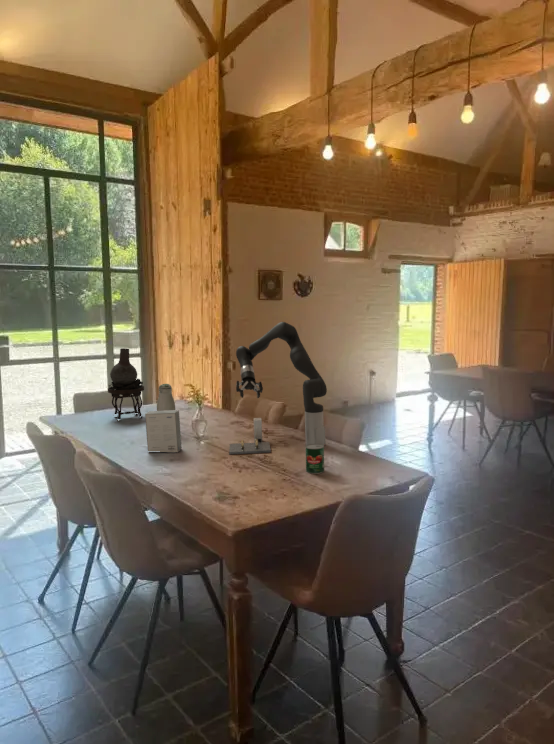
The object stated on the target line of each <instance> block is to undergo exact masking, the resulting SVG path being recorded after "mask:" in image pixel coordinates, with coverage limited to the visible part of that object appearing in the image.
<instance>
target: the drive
mask: <svg viewBox="0 0 554 744" xmlns="http://www.w3.org/2000/svg"><path fill="white" fill-rule="evenodd" d="M262 420H263V419H262V417H253V436H254V437H253V438H254V442H255V440H256V439H258V442H263V423H262Z"/></svg>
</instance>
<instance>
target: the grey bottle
mask: <svg viewBox="0 0 554 744" xmlns="http://www.w3.org/2000/svg"><path fill="white" fill-rule="evenodd" d="M175 403H176V402H175V400H174V397H173V388H172V385H171V384H170V383H161V384H160V385H159V386H158V397H157V402H156V411H171V410H176V404H175Z"/></svg>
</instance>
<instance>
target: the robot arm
mask: <svg viewBox="0 0 554 744" xmlns="http://www.w3.org/2000/svg"><path fill="white" fill-rule="evenodd" d="M277 339H280V340H282V341H285V342H286V344H287V345H288V347H289V348H290V353H289V358H290V361H291V363H292V365H293V367H294V368H295V369H296V371H299V372H300V373H301V374H302V375H304V376H306V377H307V378H308V379H306V380H304V381H303V384H302V397H303V406H304V425H305V427H304V431H305V446H306V445H309V444H322V445H324V444H325V445H326V426H324V422H325V421H324V406H323V405H322V404H320V403H316V402H315V401H314V398H315V399H317V398H322V397H325V396H326V395H327V391H328V390H327V389H328V388H327V385H326V382H325V381H324V379H323V377H322V376H321V374H320V373H319V372H318V370H317V368H316V367H315V365H314V363H313V362H312V360H311V357H310V355H309V354H308V351H307V350H306V348H305V346H304V345H303V343H302V341H301V339H300V336H299V333H298V330H297V329H296V327H295V326H293V325H292V324H289V322H288V323H287V322H285V321H280V322H278V323H276V325H274V326H273V327H272V328H271V329H270V330H269V331H267V332H266V333H265V334H263V336H261V337H260V338H258V339H256V340H255V341H253V342H251V343H250V344H249V345H248V347H246V346H245V345H240V346H238V347H237V349H236V351H235V356H236V359H237V361H238V363H239V367H240V379H241V381H239V380H236V383H235V388H236V390H235V391H236V392H238V393H239V395H240V397H241V398H244V391H245V390H246V391H248V390H252V391H253V392H256V399H260V397H261V394H262V393H263V390H264V386H263V383H262V381H259V382H257V381H256V375H255V370H254V366H253V360H254V359H255V358H256V356H257V355H258V354H260V353H262V352H263V351H266V350H267V349H268V347H269V346H270V344H271V342H272V341H273V340H277ZM240 386H241V388H240ZM325 445H324V446H325Z"/></svg>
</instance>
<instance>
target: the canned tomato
mask: <svg viewBox="0 0 554 744" xmlns="http://www.w3.org/2000/svg"><path fill="white" fill-rule="evenodd" d="M305 472H306V473H307V474H309V475H310V474H311V475H318V474H323V473H324V472H325V445H322V444H309V445H306V444H305Z"/></svg>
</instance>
